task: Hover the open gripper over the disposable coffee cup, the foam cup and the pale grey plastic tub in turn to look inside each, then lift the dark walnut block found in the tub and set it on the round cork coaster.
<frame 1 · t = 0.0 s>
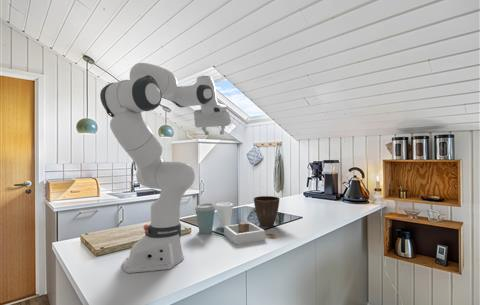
hand: (214, 134, 136), 52 cm above the table, tool tilted 20°, fingers open, 8 cm apart
grey tub: (243, 238, 127), on the table
disposable coffee cup: (205, 233, 136), on the table
cork coaster: (270, 237, 129), on the table
walnut block: (243, 237, 127), point 1 cm above the table, touching grey tub
plant pot: (266, 226, 149), on the table
foam cup: (224, 227, 147), on the table
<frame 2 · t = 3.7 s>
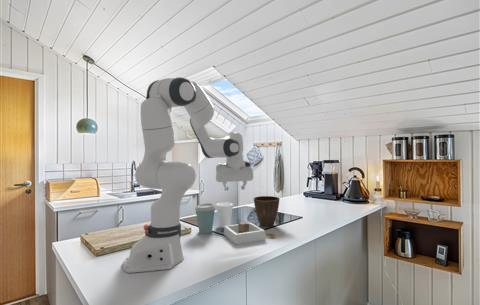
hand: (234, 189, 135), 23 cm above the table, tool pointing down, fingers open, 8 cm apart
nothing on the table moved.
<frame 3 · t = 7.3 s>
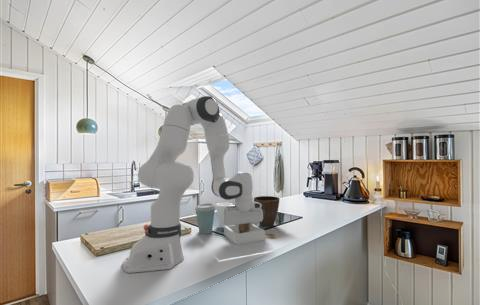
hand: (243, 232, 127), 3 cm above the table, tool pointing down, fingers closed on walnut block, 4 cm apart
walnut block: (243, 237, 127), point 1 cm above the table, touching grey tub, gripper
everything else where it was.
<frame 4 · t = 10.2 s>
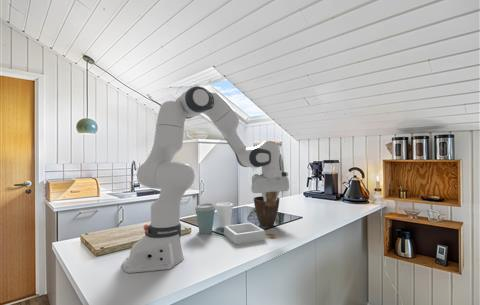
hand: (270, 200, 129), 18 cm above the table, tool pointing down, fingers closed on walnut block, 4 cm apart
walnut block: (270, 205, 129), point 16 cm above the table, touching gripper
everything else where it was.
when the fingers open (5 cm above the table, at t = 13.2 s): walnut block drops 2 cm, resting on cork coaster.
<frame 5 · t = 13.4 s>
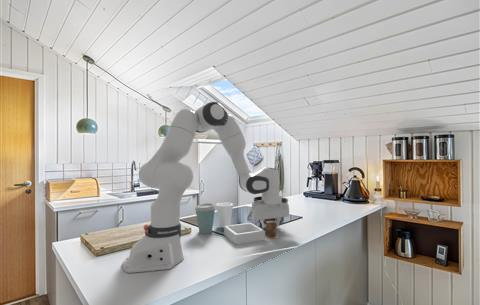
hand: (270, 227, 129), 5 cm above the table, tool pointing down, fingers open, 6 cm apart
walnut block: (270, 235, 129), point 1 cm above the table, touching cork coaster
everything else where it was.
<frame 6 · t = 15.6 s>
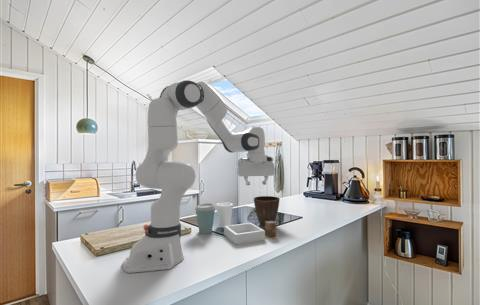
hand: (256, 184, 134), 26 cm above the table, tool pointing down, fingers open, 8 cm apart
nothing on the table moved.
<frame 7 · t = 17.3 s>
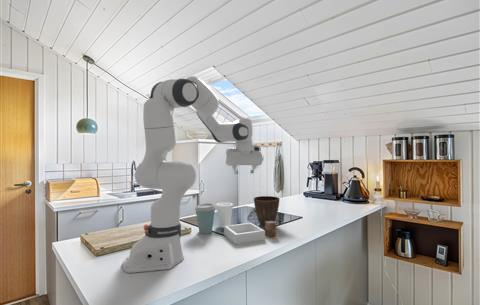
hand: (244, 173, 138), 31 cm above the table, tool pointing down, fingers open, 8 cm apart
nothing on the table moved.
at the end: walnut block inside the target area on the cork coaster (0.1 cm from its centre), point 0.6 cm above the cork coaster's base; walnut block tilted 0°; the gripper is holding nothing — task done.
